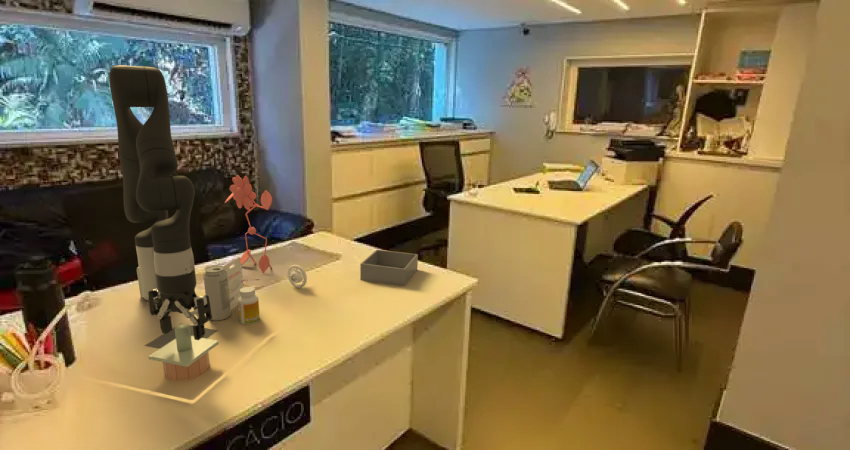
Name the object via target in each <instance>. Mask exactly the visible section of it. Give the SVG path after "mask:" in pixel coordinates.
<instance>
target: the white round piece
mask: <svg viewBox="0 0 850 450" xmlns="http://www.w3.org/2000/svg"><path fill="white" fill-rule="evenodd" d="M293 269H294V270H293ZM292 270H293V271H292ZM287 278H288V281H289V283H290V284H291V286H293V287H295V288H297V289H301V288H304V287H305V286H306V284H307V280H308V276H307V273H306V271H305V269H304V268H303V267H302V266H300V265H298V264H293V265H290V266H289V268H288V269H287ZM299 283H301V284H299Z"/></svg>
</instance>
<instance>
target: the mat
mask: <svg viewBox="0 0 850 450" xmlns="http://www.w3.org/2000/svg"><path fill="white" fill-rule="evenodd" d="M189 325H190V324H189ZM204 328H205V335H204V336H203V337H202V338H206V339H209V338H210V337H211V336H213V335H214V334H215V333H217V332H218V331H219V330H218V329H213V328H209V327H208V328H207V327H204ZM190 333H191V336H194V331H193V325H192V324H191V325H190ZM174 339H176V336H175V327H172V330H171V331H170V332H169V333H167V334H163V333H162V334H161V335H159V336H158V337H156V338H154V339H153V340H151V341H150V342H148V343H146V344H145V345H144V346H145V347H150V348H155V349H158V350H159V349H160V348H162V347H163V346H165V345H167V344H168V343H170V342H171V341H173V340H174Z"/></svg>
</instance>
